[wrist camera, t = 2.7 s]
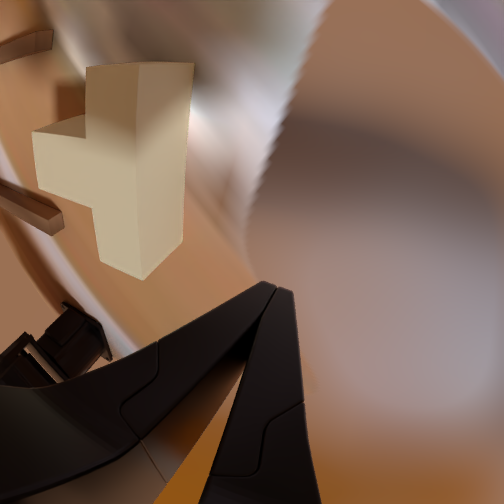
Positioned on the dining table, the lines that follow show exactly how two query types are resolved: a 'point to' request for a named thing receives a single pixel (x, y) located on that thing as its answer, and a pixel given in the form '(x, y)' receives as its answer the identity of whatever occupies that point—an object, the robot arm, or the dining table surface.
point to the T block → (125, 160)
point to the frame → (4, 196)
